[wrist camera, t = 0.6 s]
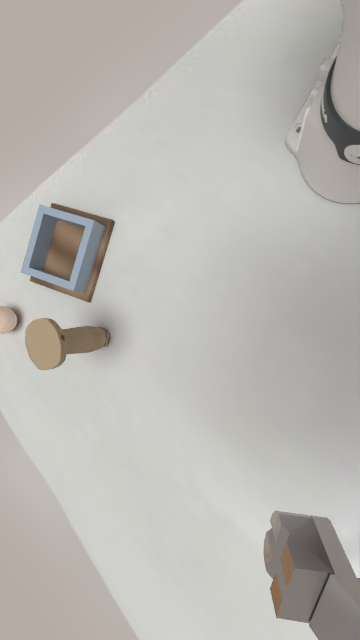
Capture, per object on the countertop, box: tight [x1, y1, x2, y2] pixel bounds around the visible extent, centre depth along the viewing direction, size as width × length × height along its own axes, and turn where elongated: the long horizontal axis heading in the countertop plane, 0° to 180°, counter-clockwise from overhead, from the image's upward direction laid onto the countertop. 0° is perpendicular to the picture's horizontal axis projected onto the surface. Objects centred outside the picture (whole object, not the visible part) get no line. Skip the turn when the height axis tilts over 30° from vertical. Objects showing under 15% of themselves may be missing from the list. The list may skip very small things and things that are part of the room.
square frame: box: [21, 205, 105, 293], centre depth 53 cm, size 11×10×4 cm
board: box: [30, 203, 114, 302], centre depth 56 cm, size 14×12×1 cm
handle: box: [25, 318, 110, 370], centre depth 47 cm, size 5×6×15 cm
